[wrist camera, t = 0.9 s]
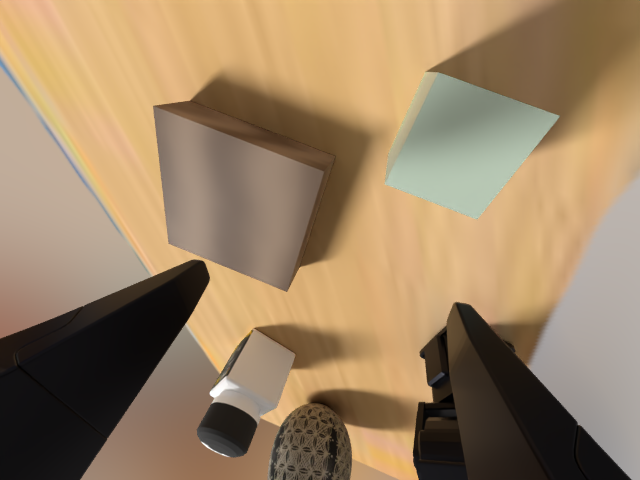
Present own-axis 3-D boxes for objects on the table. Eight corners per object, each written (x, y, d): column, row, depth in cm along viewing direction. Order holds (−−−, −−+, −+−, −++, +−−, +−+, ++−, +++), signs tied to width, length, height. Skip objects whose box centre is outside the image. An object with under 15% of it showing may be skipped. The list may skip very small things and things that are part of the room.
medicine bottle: (253, 326, 34) (196, 427, 24) (297, 353, 35) (258, 460, 25) (236, 346, 38) (181, 439, 29) (275, 369, 39) (235, 467, 30)
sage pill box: (506, 101, 15) (560, 116, 10) (455, 178, 18) (477, 219, 13) (425, 71, 15) (438, 72, 10) (388, 153, 18) (384, 184, 13)
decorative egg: (310, 379, 38) (269, 522, 26) (372, 415, 39) (361, 567, 27) (278, 399, 45) (235, 520, 33) (332, 430, 46) (309, 556, 34)
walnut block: (336, 154, 19) (324, 171, 16) (300, 264, 26) (287, 291, 23) (193, 100, 20) (153, 105, 16) (196, 222, 27) (168, 243, 23)
